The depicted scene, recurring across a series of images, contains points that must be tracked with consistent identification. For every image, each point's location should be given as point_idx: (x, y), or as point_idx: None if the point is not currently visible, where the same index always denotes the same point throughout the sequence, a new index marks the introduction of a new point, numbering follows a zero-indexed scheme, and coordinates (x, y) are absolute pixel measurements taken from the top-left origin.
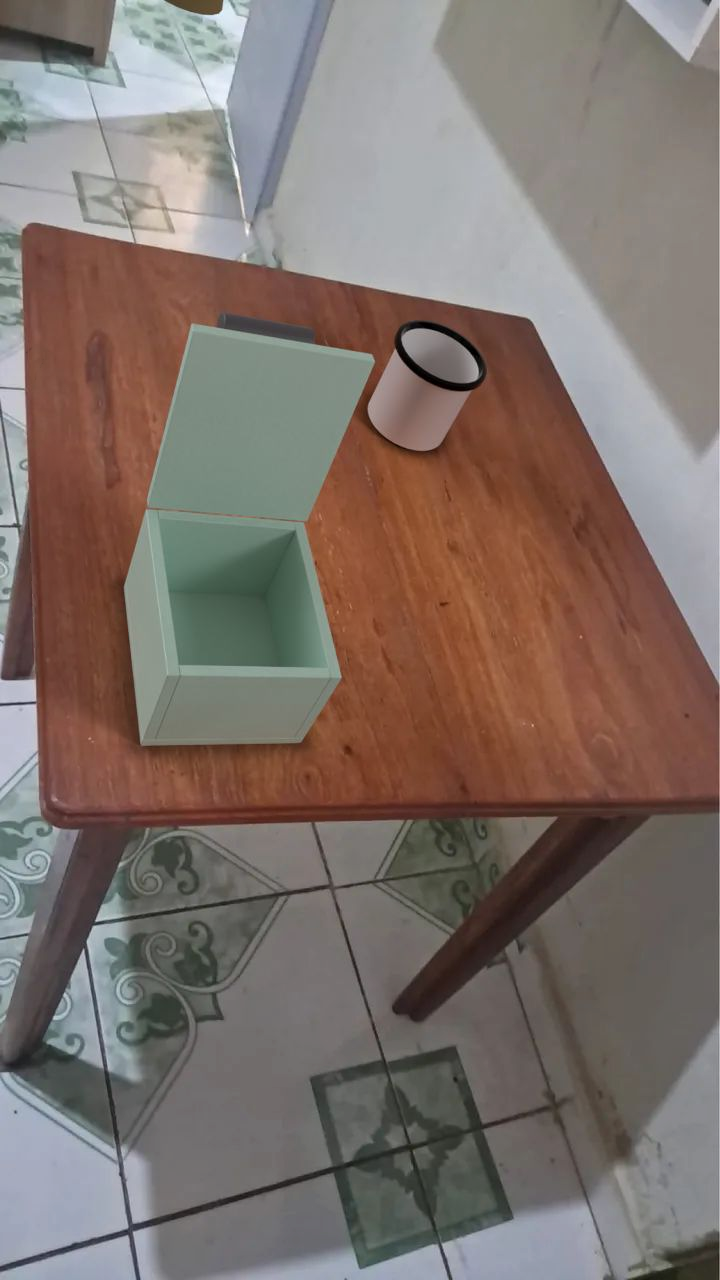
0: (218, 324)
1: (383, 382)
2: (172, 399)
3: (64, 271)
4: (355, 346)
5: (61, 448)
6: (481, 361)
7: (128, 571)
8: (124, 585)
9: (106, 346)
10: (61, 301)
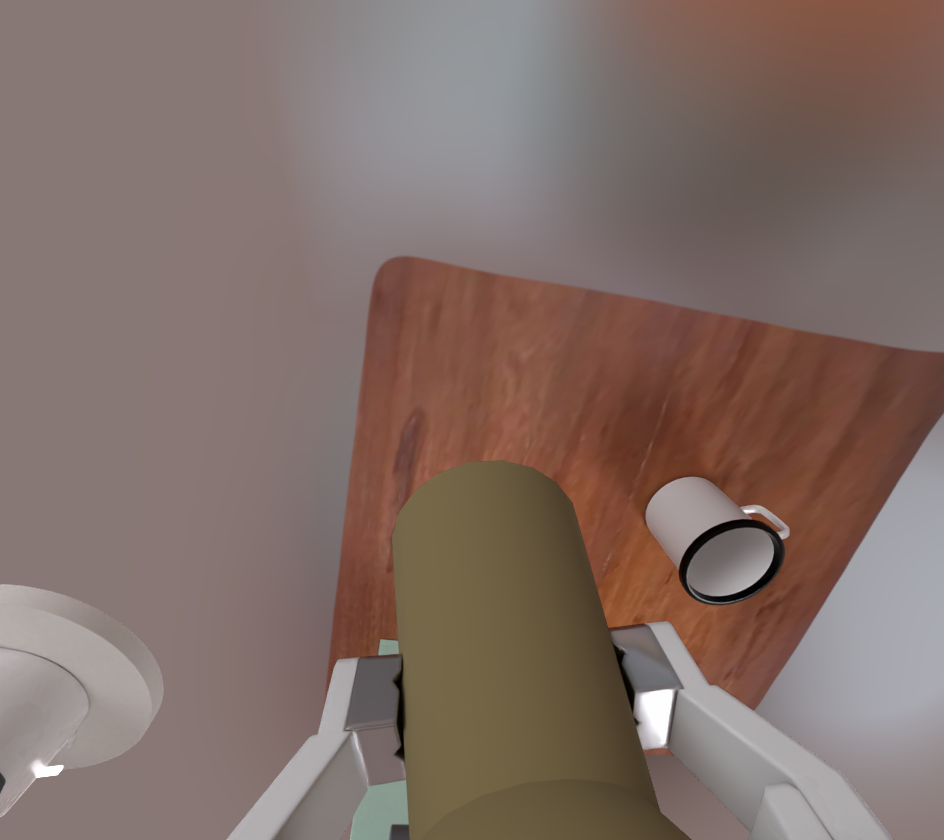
0: (390, 836)
1: (667, 526)
2: (353, 819)
3: (401, 317)
4: (696, 409)
5: (359, 539)
6: (773, 573)
7: (378, 654)
8: (380, 642)
9: (421, 428)
10: (389, 368)
